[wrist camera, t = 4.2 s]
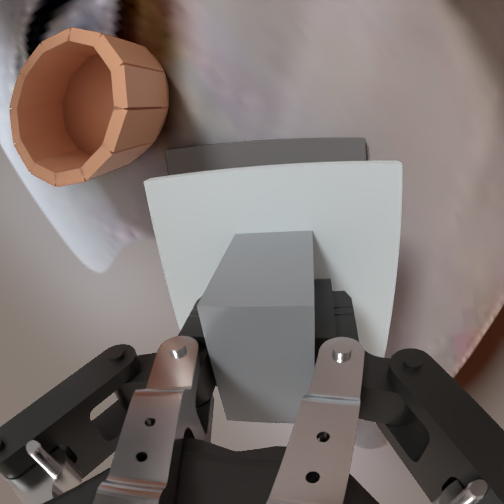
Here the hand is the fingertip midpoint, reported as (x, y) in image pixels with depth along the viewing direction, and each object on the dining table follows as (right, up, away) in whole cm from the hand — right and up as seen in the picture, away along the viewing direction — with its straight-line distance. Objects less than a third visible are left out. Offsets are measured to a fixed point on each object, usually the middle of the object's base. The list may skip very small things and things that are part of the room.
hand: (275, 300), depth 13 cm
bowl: (-10, +11, +4) cm, 15 cm away
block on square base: (0, +1, +1) cm, 2 cm away
